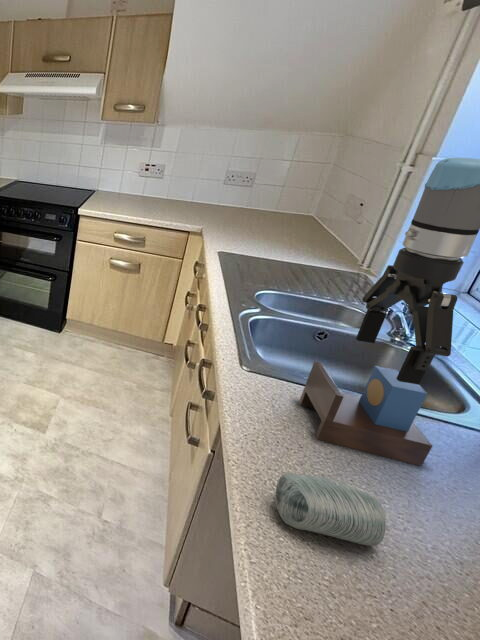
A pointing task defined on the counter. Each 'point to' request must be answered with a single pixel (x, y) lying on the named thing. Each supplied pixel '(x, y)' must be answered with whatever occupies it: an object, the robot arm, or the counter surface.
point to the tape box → (391, 399)
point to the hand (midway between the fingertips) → (384, 359)
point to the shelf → (358, 422)
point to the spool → (330, 508)
